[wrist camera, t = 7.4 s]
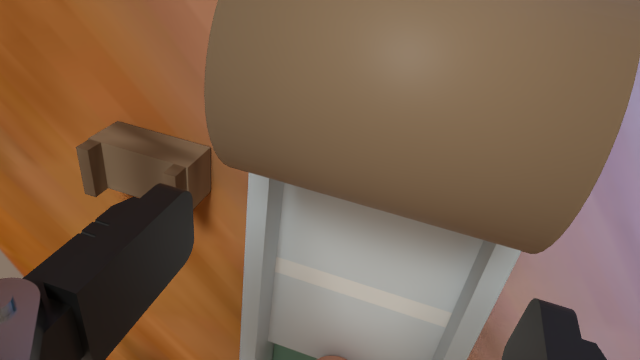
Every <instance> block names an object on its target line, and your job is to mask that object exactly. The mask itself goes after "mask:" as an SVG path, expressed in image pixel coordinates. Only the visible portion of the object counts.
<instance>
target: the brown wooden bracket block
mask: <svg viewBox="0 0 640 360" xmlns="http://www.w3.org/2000/svg"><path fill="white" fill-rule="evenodd" d="M76 149H77V155H78V160H79V165H80V170H81V175H82V180H83V186H84V191H85V194H88V195H91V196H94V197H97V196H98V195H99V194H101V193H102V192H103V191H105V190H106V189H107V188H110V189H113V190H116V191H119V192H123V193H126V194H129V195H132V196H135V197H138V198H141V197H142V196H143V195H144V194H146V193H147V192H148V191H149V190H150V189H151V188H153V187H154V186H155V185H157V184H159V183H163V184H166V185H169V186H173V187H176V188H179V189H182V190H186V191H189V192H190V193H191V195H192V198H193V209H194V208H195V207H196V206H197V205H198V204H199V203H200V202H201V201H202V200H203V199H204V198H205V197H206V196H207V194H208V193H209V192H210V191H211V147H208V146H204V145H201V144H197V143H194V142H190V141H186V140H183V139H179V138H176V137H172V136H169V135H165V134H162V133H158V132H155V131H151V130H147V129H144V128H140V127H137V126H133V125H130V124H126V123H123V122H119V121H117V122H115V123H113V124H112V125H110V126H108V127H107V128H105V129H103V130H102V131H100V132H98V133H97V134H95V135H93V136H91V137H90V138H88V140H87V141H85V142H84V143H82V144H80V145H79V146H77V147H76Z"/></svg>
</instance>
